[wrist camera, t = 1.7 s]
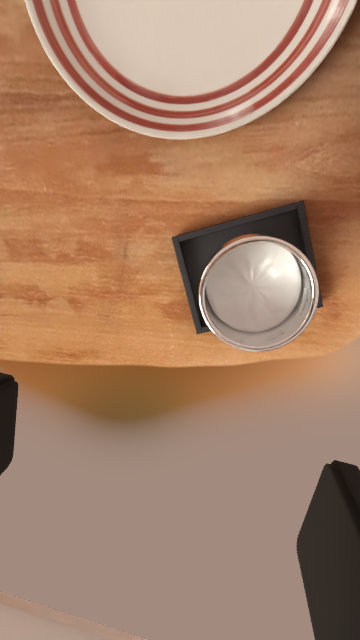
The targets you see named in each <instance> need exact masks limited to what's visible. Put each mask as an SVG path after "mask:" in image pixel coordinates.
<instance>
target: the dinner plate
mask: <svg viewBox="0 0 360 640" xmlns="http://www.w3.org/2000/svg"><path fill="white" fill-rule="evenodd" d="M357 1H358V0H25V3H26V7H27V10H28V13H29V16H30V19H31V21H32V24H33V26H34V29H35V32H36V34H37V36H38V38H39V40H40V42H41V44H42V46H43V48H44V50H45V52H46V54H47V55H48V57H49V59H50V60H51V62H52V64H53V65H54V67H55V68H56V69H57V71H58V72H59V73H60V75H61V76H62V78H63V79H64V80H65V81H66V82H67V84H68V85H69V86H70V87H71V88H72V89H73V90H74V91H75V92H76V93H77V94H78V95H79V96H80V97H81V98H82V99H83V100H84V101H85V102H86V103H87V104H88V105H90V106H91V107H92V108H93V109H95V110H96V111H97V112H99V113H100V114H102V115H103V116H105V117H106V118H108V119H109V120H111V121H113V122H114V123H116V124H118V125H120V126H122V127H125V128H127V129H129V130H132V131H135V132H138V133H140V134H144V135H148V136H152V137H157V138H165V139H177V140H183V139H196V138H204V137H209V136H214V135H218V134H222V133H225V132H228V131H231V130H234V129H236V128H239V127H241V126H243V125H245V124H247V123H249V122H251V121H253V120H255V119H257V118H259V117H261V116H262V115H264V114H266V113H267V112H269V111H270V110H272V109H273V108H275V107H276V106H277V105H279V104H280V103H281V102H283V101H284V100H285V99H286V98H288V97H289V96H290V95H291V94H292V93H294V92H295V91H296V90H297V89H298V88H299V87H300V86H301V85H302V84H303V83H304V82H305V81H306V80H307V79H308V78H309V77H310V76H311V75H312V73H313V72H314V71H315V70H316V69H317V67H318V66H319V65H320V64H321V62H322V61H323V60H324V58H325V57H326V56H327V54H328V53H329V52H330V50H331V49H332V47H333V46H334V44H335V43H336V41H337V40H338V38H339V36H340V35H341V33H342V31H343V30H344V28H345V26H346V24H347V22H348V20H349V18H350V16H351V15H352V13H353V10H354V8H355V6H356V3H357Z"/></svg>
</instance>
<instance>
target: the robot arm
mask: <svg viewBox="0 0 360 640" xmlns="http://www.w3.org/2000/svg"><path fill="white" fill-rule="evenodd" d="M17 397H18V383H17V382H15V381H14V377H13V376H12V375H8V374H4V373H0V475H1V473H3V472H4V470H6V469H7V467H8V466H9V464H10V463H11V461H12V458H13V450H14V436H15V422H16V410H17ZM297 554H298V559H299V564H300V568H301V573H302V578H303V583H304V588H305V593H306V598H307V602H308V608H309V612H310V617H311V622H312V627H313V632H314V637H315V640H360V470H359V468H358V467H357V466H355V465H352V464H348V463H344V462H340V461H337V460H335V461H333V462H332V463H331V464H326V465H325V466H324V468H323V471H322V473H321V476H320V479H319V481H318V484H317V487H316V489H315V492H314V495H313V498H312V500H311V503H310V505H309V508H308V511H307V513H306V516H305V519H304V522H303V524H302V527H301V530H300V532H299V535H298V538H297ZM0 640H147V639H145V638H141V637H138V636H135V635H132V634H129V633H126V632H123V631H120V630H117V629H114V628H111V627H108V626H105V625H102V624H99V623H96V622H93V621H90V620H87V619H83V618H81V617H78V616H74V615H71V614H68V613H65V612H62V611H59V610H56V609H53V608H50V607H47V606H43V605H41V604H37V603H34V602H31V601H28V600H25V599H22V598H19V597H16V596H13V595H10V594H7V593H4V592H1V591H0Z"/></svg>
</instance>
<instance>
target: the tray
mask: <svg viewBox="0 0 360 640" xmlns="http://www.w3.org/2000/svg"><path fill="white" fill-rule="evenodd" d="M246 233H266V234H270V235H273V236H276V237H279V238H281V239H283V240H285V241H286V242H288V243H290V244H292V245H293V246H295V247H296V248H297V249H299V250H300V251H301V252H302V253H303V254H304V255H305V256H306V257H307V259H308V260H309V262H310V263H311V265H312V267H313V269H314V271H315V273H316V276H317V271H316V265H315V260H314V254H313V249H312V243H311V238H310V232H309V227H308V221H307V216H306V210H305V205H304V200H303V201H299V202H296V203H292V204H288V205H285V206H281V207H278V208H274V209H271V210H267V211H264V212H260V213H256V214H253V215H249V216H246V217H242V218H239V219H235V220H232V221H228V222H224V223H221V224H217V225H214V226H210V227H207V228H203V229H200V230H196V231H192V232H189V233H185V234H182V235H178V236H175V237H172V241H173V245H174V249H175V252H176V256H177V260H178V264H179V268H180V271H181V275H182V279H183V283H184V287H185V290H186V294H187V298H188V302H189V306H190V309H191V313H192V317H193V321H194V325H195V328H196V332H197V334H200V333H204V332H209V331H211V330H210V329H209V327H208V326H207V324H206V322H205V320H204V318H203V316H202V313H201V310H200V305H199V286H200V281H201V276H202V272H203V269H204V267H205V265H206V263H207V261H208V259H209V258H210V256H211V255H212V253H213V252H214V251H215V250H216V249H217V248H218V247H219V246H220V245H221V244H223V243H224V242H226V241H227V240H229V239H231V238H233V237H235V236H238V235H241V234H246ZM317 280H318V276H317ZM318 287H319V282H318ZM320 307H323V304H322V298H321V293H320V287H319V298H318V304H317V308H320Z"/></svg>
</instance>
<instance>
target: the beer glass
mask: <svg viewBox="0 0 360 640" xmlns="http://www.w3.org/2000/svg"><path fill="white" fill-rule="evenodd" d="M318 298H319V287H318V280H317V276H316V273H315V271H314V269H313V267H312V265H311V263H310V262H309V260H308V259H307V257H306V256H305V255H304V254H303V253H302V252H301V251H300V250H299V249H297V248H296V247H295V246H293V245H292V244H290V243H288V242H286V241H285V240H283V239H281V238H279V237H276V236H273V235H270V234H266V233H246V234H241V235H238V236H235V237H233V238H231V239H229V240H227V241H226V242H224V243H223V244H221V245H220V246H219V247H218V248H217V249H216V250H215V251H214V252H213V253H212V255H211V256H210V258H209V259H208V261H207V263H206V265H205V267H204V269H203V272H202V276H201V281H200V286H199V305H200V310H201V313H202V316H203V318H204V320H205V322H206V324H207V326H208V327H209V329H210V330H211V331H212V332H213V333H214V334H215V335H216V336H217V337H218V338H219V339H220V340H222V341H223V342H224V343H226V344H228V345H230V346H232V347H234V348H237V349H240V350H244V351H249V352H265V351H271V350H274V349H278V348H280V347H283V346H285V345H287V344H288V343H290V342H292V341H293V340H295V339H296V338H297V337H298V336H299V335H300V334H302V332H303V331H304V330H305V329H306V328H307V326H308V325H309V324H310V322H311V320H312V318H313V316H314V314H315V311H316V308H317V304H318Z"/></svg>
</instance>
